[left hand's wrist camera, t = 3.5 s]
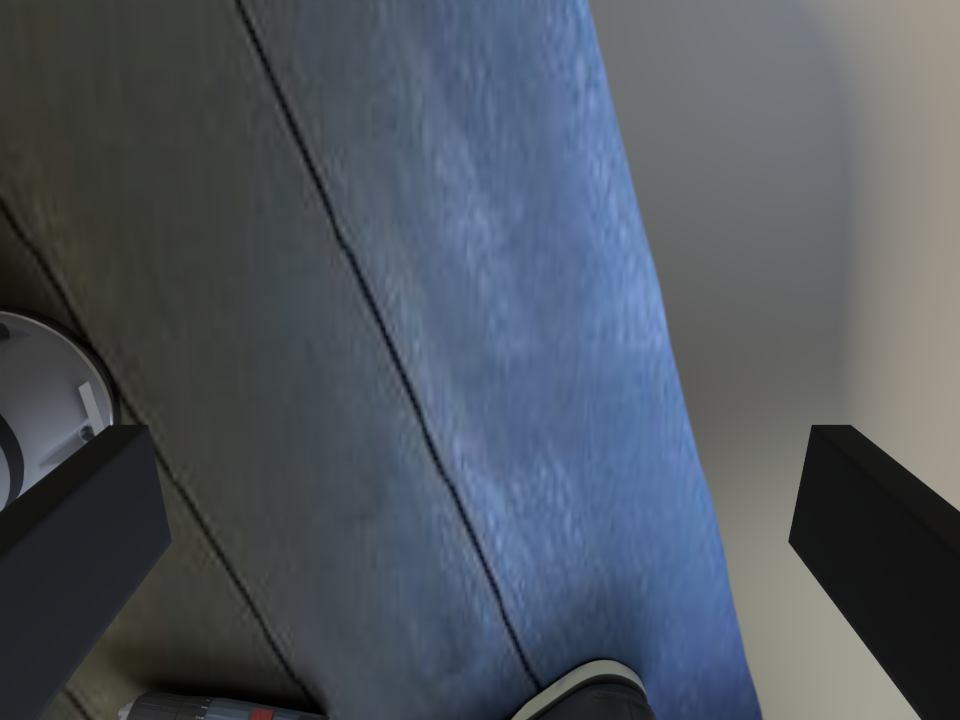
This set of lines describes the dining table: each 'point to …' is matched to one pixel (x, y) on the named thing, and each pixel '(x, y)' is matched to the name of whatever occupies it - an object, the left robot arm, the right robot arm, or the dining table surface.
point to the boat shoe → (591, 696)
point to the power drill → (204, 709)
